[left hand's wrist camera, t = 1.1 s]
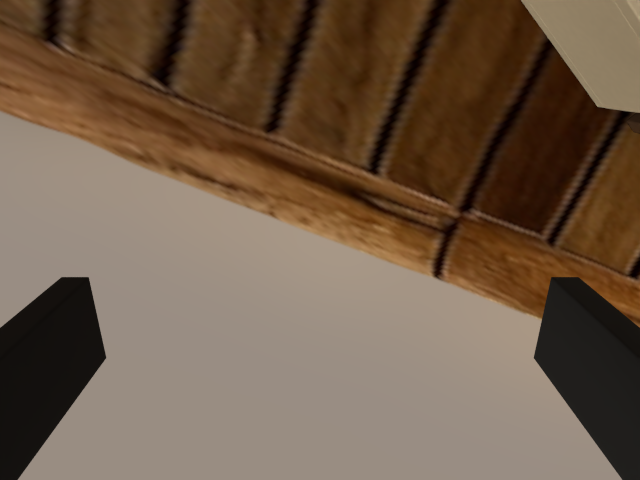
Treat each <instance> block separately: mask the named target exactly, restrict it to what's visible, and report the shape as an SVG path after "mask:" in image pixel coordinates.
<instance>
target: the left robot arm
mask: <svg viewBox="0 0 640 480" xmlns="http://www.w3.org/2000/svg"><path fill="white" fill-rule="evenodd" d="M105 359H106V355H105V350H104V346H103V341H102V336H101V332H100V327H99V323H98V318H97V313H96V309H95V304H94V300H93V295H92V291H91V286H90V281H89V278H88V277H62V278H60V279H59V280H58V281H57V282H55V283H54V284H53V285H52V286H50V287H49V288H48V289H47V290H46V291H44V292H43V293H42V294H41V295H40V296H38V297H37V298H36V299H35V300H34V301H32V302H31V303H30V304H29V305H27V306H26V307H25V308H24V309H23V310H21V311H20V312H19V313H18V314H17V315H15V316H14V317H13V318H12V319H11V320H9V321H8V322H7V323H6V324H4V325H3V326H2V327H1V328H0V480H18V478H19V477H20V476H21V474H22V473H23V471H24V470H25V469H26V467H27V466H28V465H29V463H30V462H31V461H32V459H33V458H34V456H35V455H36V454H37V452H38V451H39V449H40V448H41V447H42V445H43V444H44V443H45V441H46V440H47V439H48V437H49V436H50V434H51V433H52V432H53V430H54V429H55V428H56V426H57V425H58V423H59V422H60V421H61V419H62V418H63V416H64V415H65V414H66V412H67V411H68V410H69V408H70V407H71V405H72V404H73V403H74V401H75V400H76V399H77V397H78V396H79V395H80V393H81V392H82V390H83V389H84V388H85V386H86V385H87V384H88V382H89V381H90V379H91V378H92V377H93V375H94V374H95V372H96V371H97V370H98V368H99V367H100V366H101V364H102V363H103V362H104V360H105ZM534 359H535V360H536V362H537V363H538V364H539V366H540V367H541V368H542V370H543V371H544V373H545V374H546V375H547V377H548V378H549V379H550V381H551V382H552V384H553V385H554V386H555V388H556V389H557V390H558V392H559V393H560V394H561V396H562V397H563V399H564V400H565V401H566V403H567V404H568V406H569V407H570V408H571V410H572V411H573V412H574V414H575V415H576V417H577V418H578V419H579V421H580V422H581V423H582V425H583V426H584V428H585V429H586V430H587V432H588V433H589V434H590V436H591V437H592V438H593V440H594V441H595V443H596V444H597V445H598V447H599V448H600V449H601V451H602V452H603V454H604V455H605V456H606V458H607V459H608V461H609V462H610V463H611V465H612V466H613V467H614V469H615V470H616V472H617V473H618V474H619V476H620V477H621V478H622V480H640V328H639V327H638V326H637V325H636V324H634V323H633V322H632V321H631V320H629V319H628V318H627V317H626V316H625V315H623V314H622V313H621V312H620V311H619V310H617V309H616V308H615V307H614V306H613V305H611V304H610V303H609V302H608V301H606V300H605V299H604V298H603V297H602V296H600V295H599V294H598V293H597V292H596V291H594V290H593V289H592V288H591V287H590V286H588V285H587V284H586V283H585V282H583V281H582V280H581V279H580V278H579V277H551V281H550V286H549V291H548V295H547V300H546V304H545V309H544V313H543V318H542V323H541V327H540V332H539V336H538V341H537V346H536V350H535V355H534Z"/></svg>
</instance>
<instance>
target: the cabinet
mask: <svg viewBox="0 0 640 480" xmlns="http://www.w3.org/2000/svg"><path fill="white" fill-rule="evenodd" d="M521 1H522V2H523V4H524V5H525V7H526V8H527V9H528V11H529V12H530V14H531V15H532V16H533V18H534V19H535V20H536V22H537V23H538V25H539V26H540V27H541V29H542V30H543V32H544V33H545V34H546V36H547V37H548V39H549V40H550V41H551V43H552V44H553V45H554V47H555V48H556V50H557V51H558V52H559V54H560V55H561V57H562V58H563V59H564V61H565V62H566V63H567V65H568V66H569V68H570V69H571V70H572V72H573V73H574V75H575V76H576V77H577V79H578V80H579V82H580V83H581V84H582V86H583V87H584V88H585V90H586V91H587V93H588V94H589V95H590V97H591V98H592V100H593V101H594V102H595V104H596V105H597V107H603V108H608V109H615V110H622V111H629V112H636V113H640V0H521Z"/></svg>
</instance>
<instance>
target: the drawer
mask: <svg viewBox="0 0 640 480" xmlns="http://www.w3.org/2000/svg"><path fill="white" fill-rule="evenodd" d="M626 122H627V123H628V125H629V126H630V128H631V129H632V130H633V132H635V133H640V113H636V114H634V115H633V116H632V117H631V118H629V119H628V120H627V121H626Z"/></svg>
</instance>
